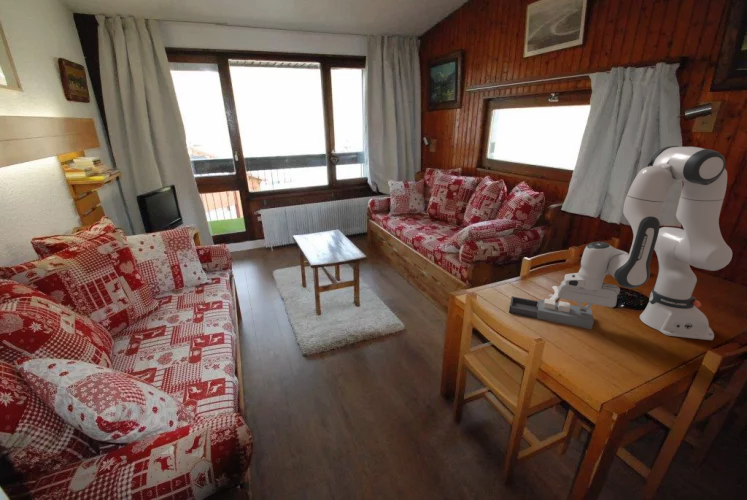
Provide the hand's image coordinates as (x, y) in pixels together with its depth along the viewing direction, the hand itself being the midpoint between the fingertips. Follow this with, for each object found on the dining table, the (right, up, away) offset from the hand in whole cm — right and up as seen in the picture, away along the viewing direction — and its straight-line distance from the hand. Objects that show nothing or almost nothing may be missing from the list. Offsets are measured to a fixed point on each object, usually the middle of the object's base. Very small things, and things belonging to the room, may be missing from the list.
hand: (582, 310), depth 136 cm
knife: (+1, +4, +25) cm, 25 cm away
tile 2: (-6, 0, +3) cm, 7 cm away
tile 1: (-11, +1, +6) cm, 12 cm away
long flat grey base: (-6, -4, +5) cm, 8 cm away
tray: (-20, -2, +11) cm, 23 cm away
